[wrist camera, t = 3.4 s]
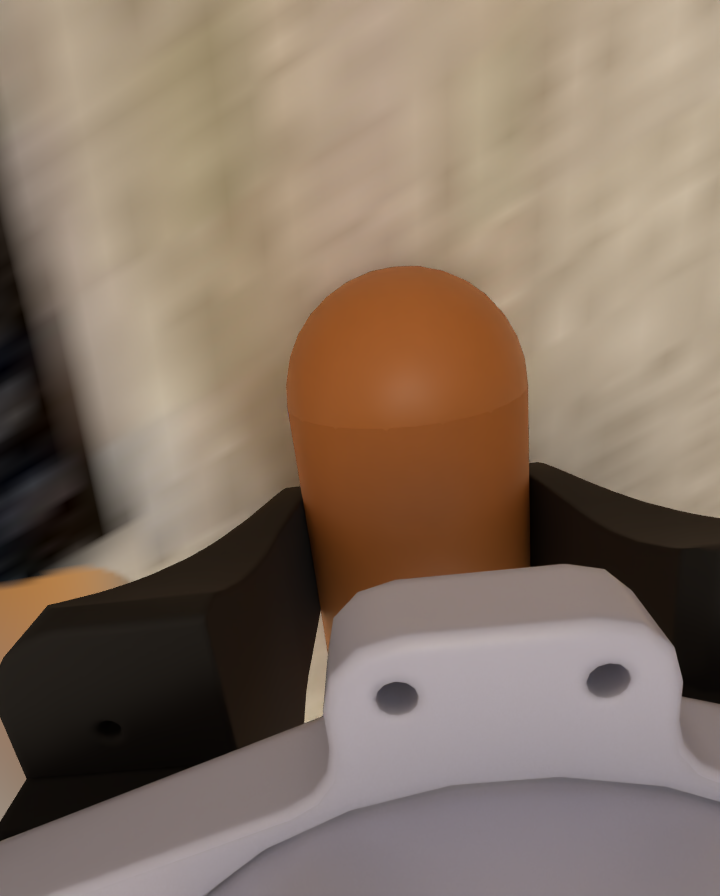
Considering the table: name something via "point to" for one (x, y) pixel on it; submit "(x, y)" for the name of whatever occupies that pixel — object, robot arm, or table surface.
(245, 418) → the table surface
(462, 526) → the bun
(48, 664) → the robot arm
